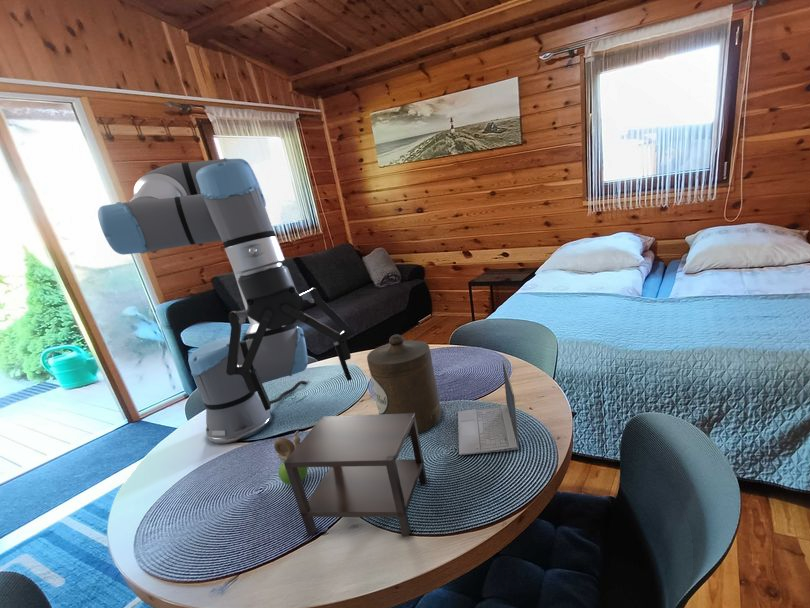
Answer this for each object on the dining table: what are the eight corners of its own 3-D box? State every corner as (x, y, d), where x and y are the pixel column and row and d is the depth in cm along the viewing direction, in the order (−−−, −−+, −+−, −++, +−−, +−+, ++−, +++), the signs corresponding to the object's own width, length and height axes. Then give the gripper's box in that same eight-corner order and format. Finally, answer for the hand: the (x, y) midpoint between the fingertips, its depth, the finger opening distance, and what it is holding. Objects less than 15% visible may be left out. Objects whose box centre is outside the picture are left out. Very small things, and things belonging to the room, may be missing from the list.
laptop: (458, 413, 106) (451, 365, 101) (508, 407, 106) (504, 358, 101) (459, 457, 89) (450, 402, 84) (519, 450, 89) (514, 394, 84)
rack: (340, 481, 86) (322, 416, 81) (427, 480, 84) (414, 412, 78) (307, 535, 74) (283, 462, 68) (409, 536, 71) (392, 460, 65)
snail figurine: (305, 491, 85) (289, 439, 80) (277, 490, 86) (259, 439, 82) (319, 473, 90) (305, 424, 85) (292, 472, 91) (276, 423, 87)
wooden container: (385, 408, 113) (368, 329, 105) (441, 401, 113) (429, 321, 105) (377, 439, 99) (357, 351, 91) (441, 431, 99) (426, 343, 91)
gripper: (166, 295, 60) (229, 428, 66) (343, 248, 67) (384, 372, 74) (179, 291, 67) (234, 413, 73) (338, 249, 74) (375, 362, 80)
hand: (309, 392), depth 73 cm, fingers open, 13 cm apart
